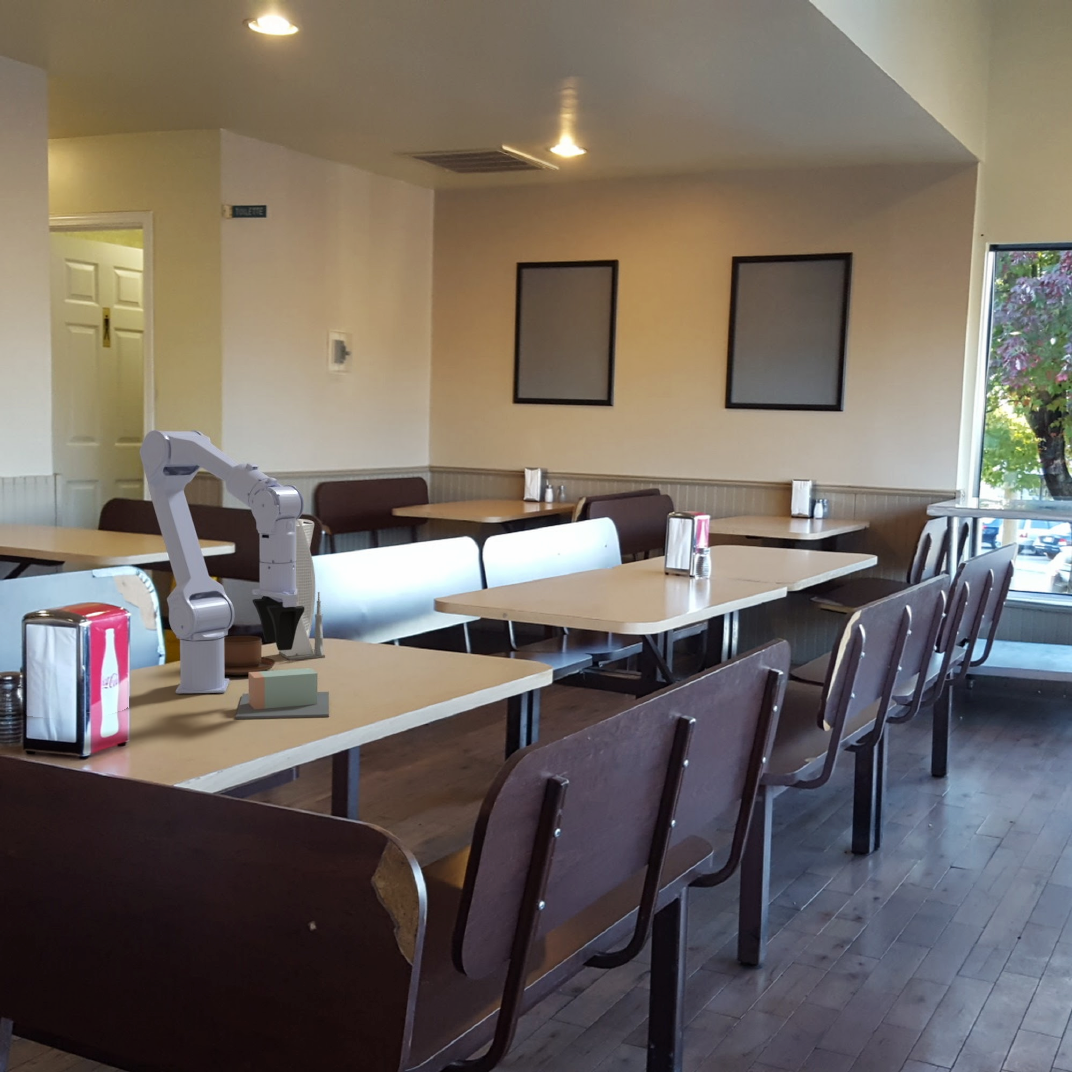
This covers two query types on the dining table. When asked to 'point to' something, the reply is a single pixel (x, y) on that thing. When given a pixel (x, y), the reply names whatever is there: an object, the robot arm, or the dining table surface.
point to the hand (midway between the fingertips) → (278, 645)
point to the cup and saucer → (244, 655)
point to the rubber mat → (285, 709)
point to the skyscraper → (305, 598)
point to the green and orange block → (282, 688)
